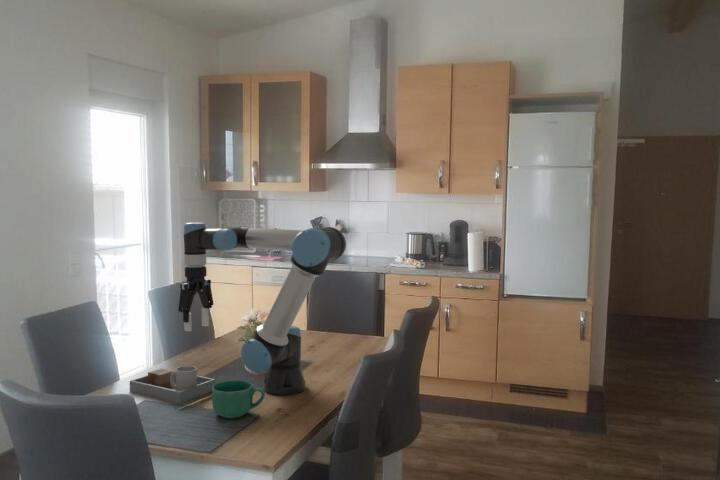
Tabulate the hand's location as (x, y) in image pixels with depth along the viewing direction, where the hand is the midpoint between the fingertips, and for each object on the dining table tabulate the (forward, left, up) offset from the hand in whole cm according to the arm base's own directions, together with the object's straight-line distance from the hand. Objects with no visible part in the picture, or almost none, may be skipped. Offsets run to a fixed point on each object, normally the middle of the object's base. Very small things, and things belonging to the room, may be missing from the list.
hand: (196, 328), depth 223 cm
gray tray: (+4, +8, -22) cm, 24 cm away
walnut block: (+10, +8, -21) cm, 25 cm away
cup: (-1, +8, -22) cm, 23 cm away
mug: (-30, +13, -22) cm, 40 cm away
